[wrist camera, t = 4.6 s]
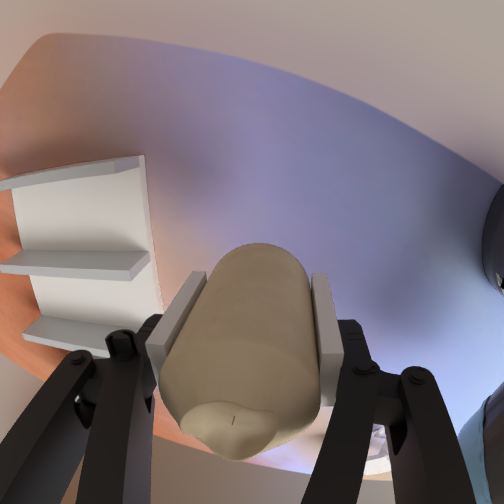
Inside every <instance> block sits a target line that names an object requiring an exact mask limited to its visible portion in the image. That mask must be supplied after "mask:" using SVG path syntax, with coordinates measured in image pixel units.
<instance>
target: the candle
mask: <svg viewBox="0 0 504 504" xmlns="http://www.w3.org/2000/svg"><path fill="white" fill-rule="evenodd" d="M158 386H159V392H160V395H161V398H162V400H163V402H164V405H165V406H166V408H167V409H168V411H169V412H170V414H171V415H172V417H173V418H174V419H175V420H176V422H177V423H178V425H179V427H180V429H181V431H182V432H183V433H185V434H188V435H191V436H194V437H195V438H197V439H198V440H200V441H201V442H203V443H204V444H205V445H207V446H208V447H209V448H210V449H211V450H212V451H213V452H214V453H215V454H217V455H218V456H219V457H221V458H224V459H225V460H228V461H242V460H246V459H249V458H251V457H253V456H255V455H257V454H259V453H262V452H265V451H267V450H270V449H272V448H275V447H278V446H280V445H282V444H284V443H286V442H288V441H290V440H292V439H294V438H295V437H297V436H298V435H300V434H301V433H303V432H304V431H305V430H306V429H307V428H308V427H309V426H310V425H311V424H312V423H313V422H314V420H315V419H316V417H317V415H318V412H319V410H320V405H321V393H320V379H319V367H318V356H317V345H316V335H315V325H314V315H313V306H312V297H311V289H310V283H309V279H308V276H307V274H306V272H305V270H304V268H303V267H302V265H301V264H300V262H299V261H298V260H297V259H296V258H295V257H294V256H293V255H292V254H290V253H289V252H287V251H286V250H284V249H282V248H280V247H277V246H274V245H270V244H264V243H253V244H247V245H243V246H240V247H238V248H236V249H234V250H232V251H230V252H229V253H228V254H226V255H225V256H224V257H223V258H222V259H221V260H220V261H219V262H218V264H217V265H216V267H215V268H214V270H213V272H212V274H211V275H210V277H209V279H208V281H207V283H206V285H205V287H204V288H203V290H202V292H201V294H200V296H199V298H198V300H197V301H196V303H195V305H194V307H193V309H192V311H191V313H190V315H189V316H188V318H187V320H186V322H185V324H184V326H183V328H182V330H181V332H180V333H179V335H178V337H177V339H176V341H175V343H174V345H173V347H172V349H171V351H170V353H169V354H168V356H167V358H166V360H165V362H164V364H163V366H162V368H161V370H160V374H159V380H158Z"/></svg>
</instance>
